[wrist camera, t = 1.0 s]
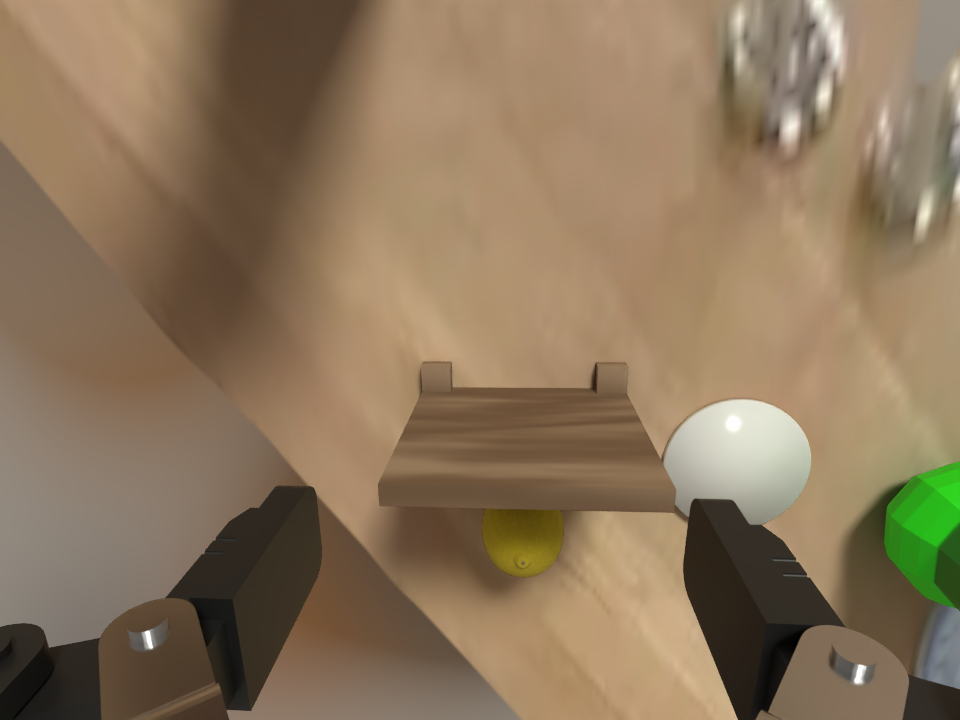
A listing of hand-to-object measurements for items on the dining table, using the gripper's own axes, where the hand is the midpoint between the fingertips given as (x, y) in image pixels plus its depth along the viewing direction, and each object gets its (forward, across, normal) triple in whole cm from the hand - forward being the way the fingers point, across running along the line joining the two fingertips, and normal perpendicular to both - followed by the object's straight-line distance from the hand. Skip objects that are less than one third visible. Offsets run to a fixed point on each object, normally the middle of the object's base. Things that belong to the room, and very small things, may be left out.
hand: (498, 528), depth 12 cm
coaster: (+27, -16, +12) cm, 34 cm away
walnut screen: (+28, -1, +8) cm, 29 cm away
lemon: (+28, -1, +16) cm, 32 cm away
